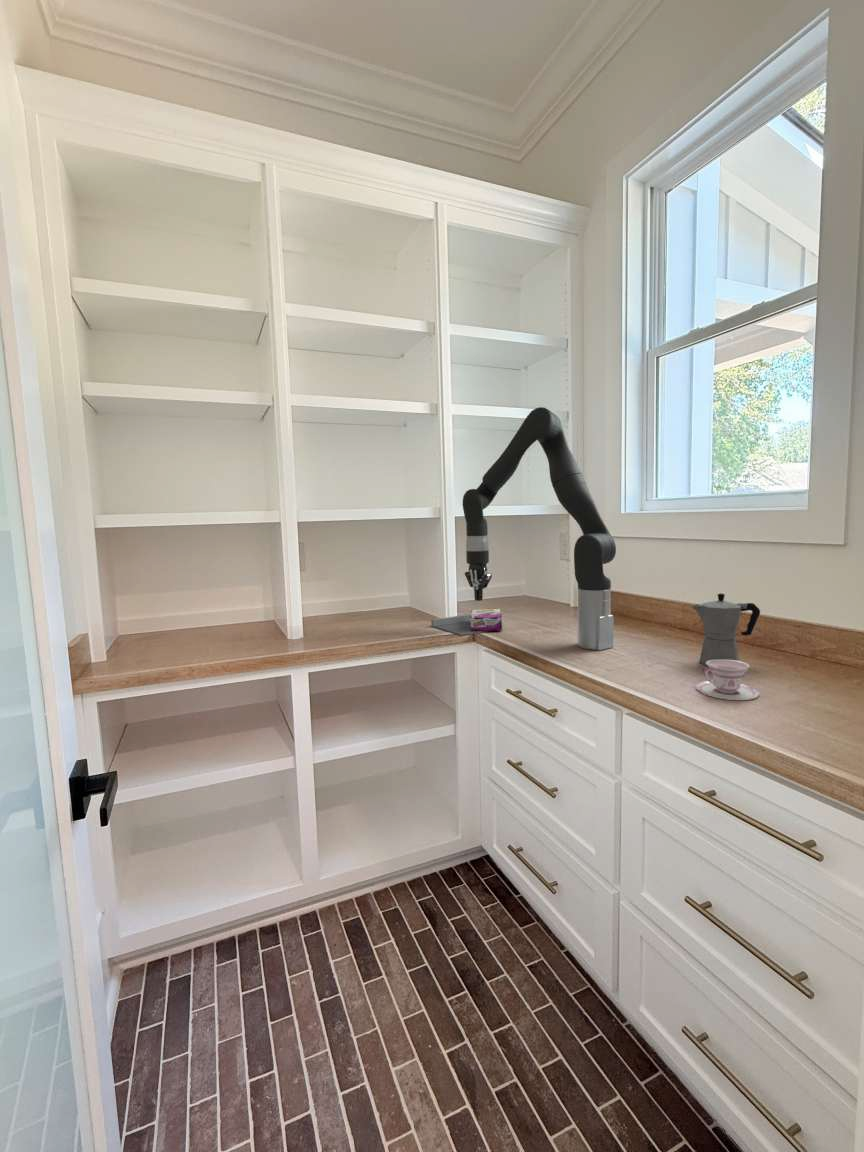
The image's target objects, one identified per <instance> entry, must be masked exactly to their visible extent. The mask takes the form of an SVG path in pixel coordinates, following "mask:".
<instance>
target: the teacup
mask: <svg viewBox="0 0 864 1152" xmlns="http://www.w3.org/2000/svg"><path fill="white" fill-rule="evenodd" d="M706 664H707V665H706V666H707V667H706V668H704V669H703V670H704V675H705V678H706V679H707V680H708V681H702V682H699V683H697V684H696V685H695V689H696V690H697V692H699V693H700V694H703V695H705V696H709V697H712V698H716V699H721V700H728V701H749V700H750V701H751V700H755V699H757V698H758V697H760V692H759V690H757V689H755V688H754V687H752V686H749V685H747V684H743V683H742V678H743V677H744V676H745V673H746V672H747V671H748V670H749V668H750V664H749V663H747V662H745V661H742V660H741V661H740V660H739V661H736V660H726V659H716V660H709V661H707V662H706ZM709 672H710V673H711V674H712V679H711V678H710V677H709ZM716 689H717V690H718V691H716ZM736 692H738V694H735V693H736Z"/></svg>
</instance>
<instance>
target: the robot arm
mask: <svg viewBox="0 0 864 1152" xmlns="http://www.w3.org/2000/svg"><path fill="white" fill-rule="evenodd" d="M536 441H538V443H539V444H540V446H541V448H542V450H543V452H544V454H545V456H546V459H547V461H548V466H549V467H548V470H549V479H550V482H551V486H552V488H553V491H554V494H555V495H556V497H557V501H558V502H559V504H560V505H561V506H562V507H563V509H564V510H565V511H567V513H568V514H569V515H570V516H571V517H572V519H574V520H575V521H576V523H577V524H578V526H579V528H580V530H581V531H582V534H583V535H581V536H580V537H578V538H577V539H576V541H575V544H574V548H573V563H574V566H573V567H574V578H575V581H576V582H577V646H578V647H579V648H582V649H586V650H596V651H601V650H608V649H610V648H614V621H615V620H614V615H613V614H611V613H612V612H611V609H612V608H611V607H612V605H611V603H612V602H611V601H612V600H611V599H612V595H611V594H612V592H611V591H612V589H611V588H612V583H611V582H612V581H611V579H610V578H609V577H607V576H606V575H605V573H604V565H605V564H608V563H611V562H612V561H613V560H614V559H615V558H616V553H617V552H616V551H617V547H616V543H615V540H614V538H613V536H612V534H611V533H610V531H609V529H608V527H607V525H606V524H605V522H604V520H603V518H602V517H601V515H600V513H599V511H598V508H597V506H596V503H595V500H594V498H593V497H592V494H591V493H590V490H589V487H588V485H587V482H586V480H585V477H584V475H583V473H582V471H581V469H580V467H579V465H578V462H577V460H576V459H575V457H574V455H573V453H572V452H571V451H572V450H571V449H570V448H569V444H568V441H567V438H566V435H565V431H564V428H563V425H562V422H561V420H560V418H559V416H558V415H556V414H555V413H554V412H553V411H551V410H550V409H548V408H547V407H543V406H542V407H539V406H538V407H536V408H534V409H532V411H530V412H529V413H528V414H527V416H526V417H525V419H524V420H523V422H522V423H521V425H520V427H519V428H518V429H517V431H516V433H515V435H513V438H512V439H511V441H510V442H509V443H508V445H507V447H506V448H505V449H504V450H503V452H502V453H501V455H499V457H498V458H497V460H496V461H495V462H494V463H493V464H492V465H491V466H490V467H489V469H488V470H487V471H486V472H485V473H484V475H483V476H482V478H481V481H482V482H480V484H479V486H478V487H477V488H476V489H475V488H471V489H468V490H466V491H465V492H464V494H463V496H462V511H463V515H464V518H465V523H466V527H465V528H466V530H465V531H466V539H465V540H466V541H465V548H466V549H465V551H466V553H465V555H466V557H465V559H466V564H468V565H469V566H468V570H467V571H465V572H464V577H465V578H466V580H467V582H468V585H469V587H470V588H472V589H473V591H474V592H473V593H474V600H475V601H476V602H478V601H479V602H480V601H483V597H484V593H483V592H484V591H483V590H484V589H486V588H488V585H489V583H490V582H491V579H492V577H493V575H492V573H489V572H488V567H487V564H489V562H490V551H489V550H490V549H489V547H490V546H489V538H488V537H489V536H488V533H489V532H488V521H487V519H486V518H485V517H484V510H485V509H487V508H488V507H489V506H490V505H491V503H492V502H493V500H494V499H495V498H496V496H497V495H498V492H499V491H500V490H501V489H502V488H503V487H504V485H506V483H507V482H508V481H509V480H510V479H511V478H512V476H513V475H514V474H515V472H516V470H517V468H518V466H519V464H520V463H521V460H522V458H523V457H524V455H525V453H526V452H527V451H528V449H530V447H531V446H532V445H533V444H534V443H535V442H536Z"/></svg>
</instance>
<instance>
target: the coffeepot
mask: <svg viewBox="0 0 864 1152" xmlns="http://www.w3.org/2000/svg"><path fill="white" fill-rule="evenodd" d="M725 595H726V594H724V593H717V599H718V600H713V601H707V602H702V603H699V604H694V605H692V607H691V609H694V610H695V611H696V613H697V615H698V616H699V618H700V620H701V621H702V626H703V630H704V631H705V634H704V638H703V641H702V642H703V643H702V648H701V652H700V655H699V662H700V663H701V664H702V665H705V666H707V664H706V662H707V661H709V660H716V659H726V660H736V661H740V657H739V651H738V644H737V639H736V632H737V630H738V625H739V620H740V616H741V612H747V611H751V614H750V618H749V622H748V623H747V625H746V630H745V631H740V634H741V636H751V634H752V633H753V630H754V627H755V626H756V624H757V621H758V619H759V617H760V615H761V610H760V608H759V607H758V606H757V605H756V604H755V603H752V602H742V603H741V602H739V603H733V602H730V601H726V600H725V597H726V596H725Z"/></svg>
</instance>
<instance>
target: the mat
mask: <svg viewBox="0 0 864 1152" xmlns="http://www.w3.org/2000/svg"><path fill="white" fill-rule="evenodd" d="M470 615H471V614H462V615H455V616H449V617H441V618H436V619H431V621H430V622H431V628H434V629H438V630H441V631H445V632H448V633H450V634H454V635H457V636H459V637H464V636H470V635H475V634H482V633H487V631H470Z"/></svg>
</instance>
